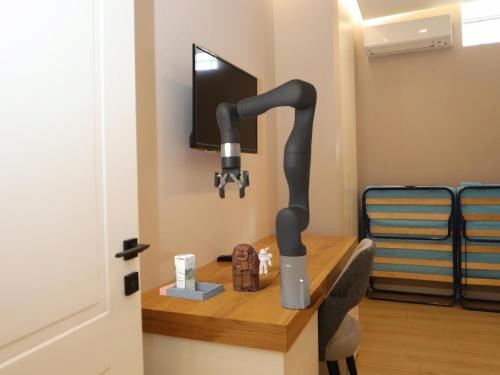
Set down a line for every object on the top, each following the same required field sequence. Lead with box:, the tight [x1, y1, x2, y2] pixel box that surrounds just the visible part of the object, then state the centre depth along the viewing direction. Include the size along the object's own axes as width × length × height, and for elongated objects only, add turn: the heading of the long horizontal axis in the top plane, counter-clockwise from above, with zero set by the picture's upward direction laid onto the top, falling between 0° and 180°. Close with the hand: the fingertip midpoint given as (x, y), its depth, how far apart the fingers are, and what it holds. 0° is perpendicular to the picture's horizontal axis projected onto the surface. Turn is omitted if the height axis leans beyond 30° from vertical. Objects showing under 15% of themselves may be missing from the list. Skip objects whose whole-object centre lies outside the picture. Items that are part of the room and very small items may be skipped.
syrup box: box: [174, 253, 197, 291], centre depth 153 cm, size 6×6×14 cm
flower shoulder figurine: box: [258, 247, 274, 275], centre depth 182 cm, size 9×4×12 cm, turn 74°
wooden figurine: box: [231, 243, 260, 292], centre depth 155 cm, size 12×6×18 cm, turn 73°
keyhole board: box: [159, 280, 224, 302], centre depth 152 cm, size 20×14×2 cm
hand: (232, 198), depth 151 cm, fingers open, 8 cm apart
